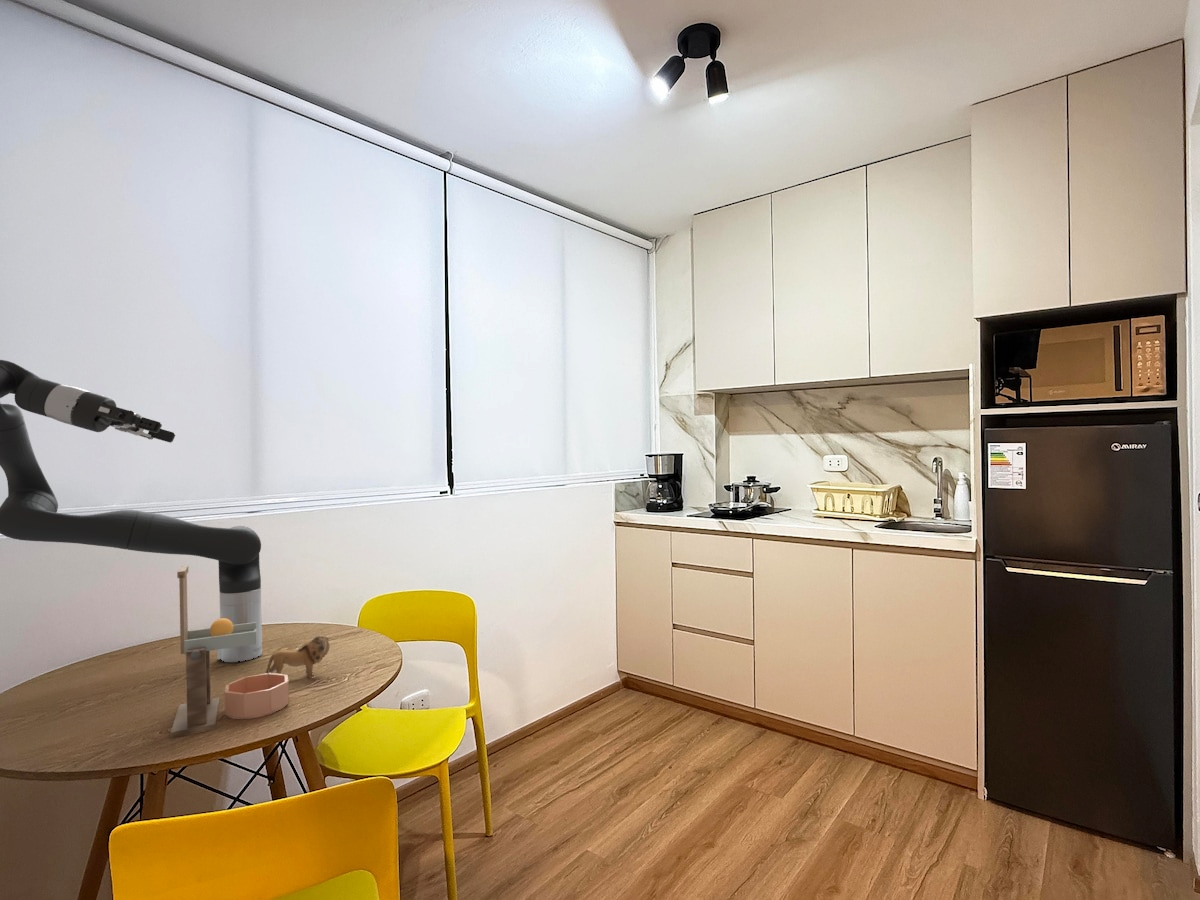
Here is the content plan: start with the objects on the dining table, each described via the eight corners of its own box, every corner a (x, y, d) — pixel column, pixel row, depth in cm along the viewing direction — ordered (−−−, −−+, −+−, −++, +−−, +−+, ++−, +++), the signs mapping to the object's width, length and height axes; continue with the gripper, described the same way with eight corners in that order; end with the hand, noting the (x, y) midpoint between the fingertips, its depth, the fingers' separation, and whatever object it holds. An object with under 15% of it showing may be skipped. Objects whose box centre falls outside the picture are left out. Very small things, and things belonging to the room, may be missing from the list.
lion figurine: (329, 669, 152) (328, 631, 152) (330, 676, 147) (330, 637, 147) (259, 680, 146) (259, 640, 146) (258, 687, 141) (258, 647, 141)
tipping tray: (178, 655, 120) (176, 572, 120) (182, 644, 127) (181, 565, 127) (256, 644, 126) (254, 565, 126) (256, 634, 133) (255, 559, 133)
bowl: (224, 724, 122) (223, 698, 122) (226, 703, 132) (226, 679, 132) (289, 711, 127) (289, 686, 127) (287, 693, 137) (287, 669, 137)
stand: (170, 738, 116) (169, 655, 116) (179, 709, 129) (178, 635, 129) (215, 729, 119) (213, 649, 119) (219, 702, 133) (218, 629, 133)
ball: (205, 641, 125) (204, 620, 125) (221, 635, 129) (221, 615, 129) (222, 642, 124) (222, 621, 124) (238, 636, 128) (238, 616, 128)
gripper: (88, 433, 135) (170, 457, 138) (54, 415, 122) (146, 441, 125) (104, 401, 137) (185, 425, 141) (73, 380, 124) (163, 407, 127)
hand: (166, 433), depth 133 cm, fingers open, 8 cm apart
